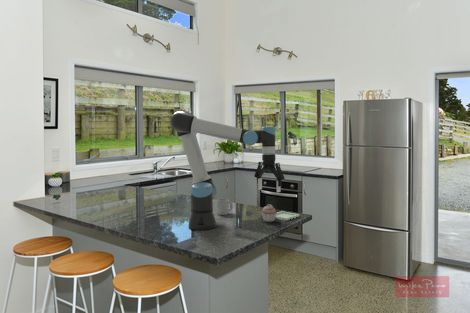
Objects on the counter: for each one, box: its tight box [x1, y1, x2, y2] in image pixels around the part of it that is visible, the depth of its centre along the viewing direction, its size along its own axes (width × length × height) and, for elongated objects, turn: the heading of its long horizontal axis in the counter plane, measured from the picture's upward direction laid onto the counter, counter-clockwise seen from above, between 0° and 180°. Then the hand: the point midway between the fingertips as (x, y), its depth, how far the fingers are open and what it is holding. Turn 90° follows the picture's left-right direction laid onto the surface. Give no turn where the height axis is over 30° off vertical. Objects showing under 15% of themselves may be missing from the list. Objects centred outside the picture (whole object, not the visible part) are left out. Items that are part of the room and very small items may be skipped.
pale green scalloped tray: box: [275, 210, 300, 222], centre depth 234 cm, size 13×14×2 cm
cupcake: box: [260, 203, 277, 223], centre depth 225 cm, size 9×9×10 cm
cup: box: [216, 198, 234, 216], centre depth 244 cm, size 7×10×9 cm
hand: (269, 190), depth 223 cm, fingers open, 13 cm apart
